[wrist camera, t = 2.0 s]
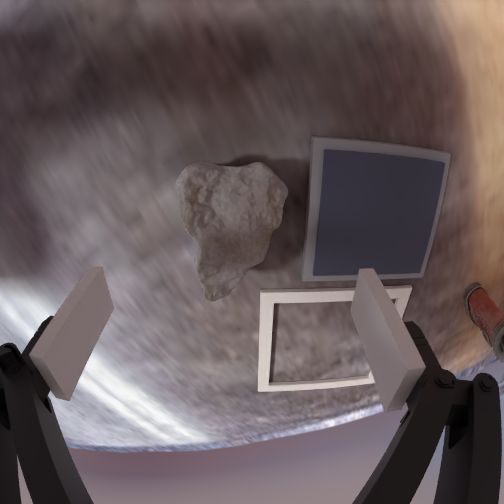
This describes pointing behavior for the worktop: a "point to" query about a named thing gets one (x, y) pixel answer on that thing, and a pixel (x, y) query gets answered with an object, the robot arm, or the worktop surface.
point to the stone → (229, 219)
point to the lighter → (486, 317)
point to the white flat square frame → (303, 296)
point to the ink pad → (371, 208)
